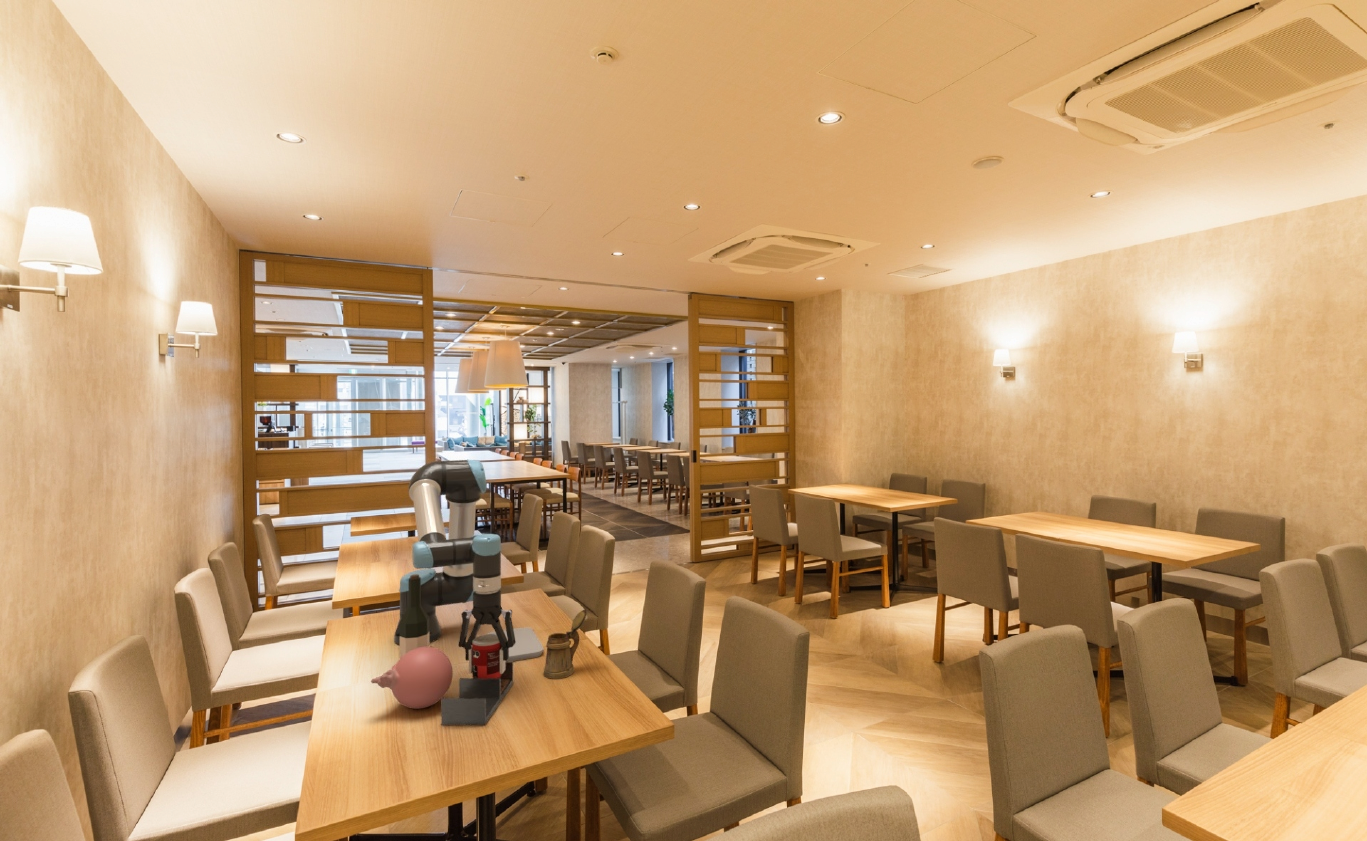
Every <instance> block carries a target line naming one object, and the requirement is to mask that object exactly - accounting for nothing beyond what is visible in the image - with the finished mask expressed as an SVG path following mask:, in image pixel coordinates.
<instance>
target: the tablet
mask: <svg viewBox="0 0 1367 841" xmlns="http://www.w3.org/2000/svg"><path fill="white" fill-rule="evenodd" d="M513 630H514V636H515V641H516V643H515V644H514V646H513V647H510V648H509V658H508V659H507V661H513V662H514V661H515V662H516V661H522V660H527V659H533V658H538V657H541V656H542V653H543V652H544V650H545V649H544V646H543V644H542V642H541V641H540V639H539V638H538V636H537V635H536V633H535V631H534V629H533V628H532V627H528V626H527V627H525V626H524V627H517V628H515V627H514V628H513ZM503 631H504V633H505V635H506V638H507V632H506V629H503ZM486 634H495V635H496V632H495V630H494V631H490V632H487V633H485V634H484V635H486ZM507 640H508V638H507Z"/></svg>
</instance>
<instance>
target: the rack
mask: <svg viewBox="0 0 1367 841" xmlns="http://www.w3.org/2000/svg"><path fill="white" fill-rule="evenodd" d="M513 685H514V661H505V671H504V672H503V674H502V675H501V677H500V678H473V677H472V678H470V677H467V678H466V677H462V678H461V677H460V678H459V680H458V688H459V689H458V693H459V694H458V697H442V698H441V699H440V700H441V702H440V703H441V705H440V707H441V708H440V712H441V714H440V715H441V719H440V720H441V721H440V722H441V723H440V725H441V726H486V725H487V723H488V722H489V720H490V719H491V717H492V715H494V713H495V711H496V710H497V708H498V707H499V705H500V704H501V702H502V701H503V699H504V698H505V697H506V695H507V694H508V692H509V690H510V689H511V688H512V686H513Z"/></svg>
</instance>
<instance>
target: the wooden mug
mask: <svg viewBox="0 0 1367 841" xmlns="http://www.w3.org/2000/svg"><path fill="white" fill-rule="evenodd" d="M587 612H588V610H587V608H586V609H582V610H580V611H579V612H577V614H576V615H575V617H574V619H573V621H572V624H571V629H570V630H568V631H566V632H565V633H563V632H557V633H556V632H555V633H552V634H549V635H548V637H547V641H546V644H545V647H546V655H545V664H544V668H543V672H542V674H543V676H544V677H545V678H548V679H551V680H553V679H554V680H558V679H559V680H560V679H564V678H567V677H569V676H571V675H573V674H574V671H575V667H574V663H573V659H574V655H575V653H576V652H577V649H578V647H579V644H580V634H579V632H578V630H579V629H580V628H581V627H582V626H583V624H584V622H585V621H586V618H587V614H588V613H587ZM571 640H573V643H572V641H571ZM571 643H572V646H571Z"/></svg>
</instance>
